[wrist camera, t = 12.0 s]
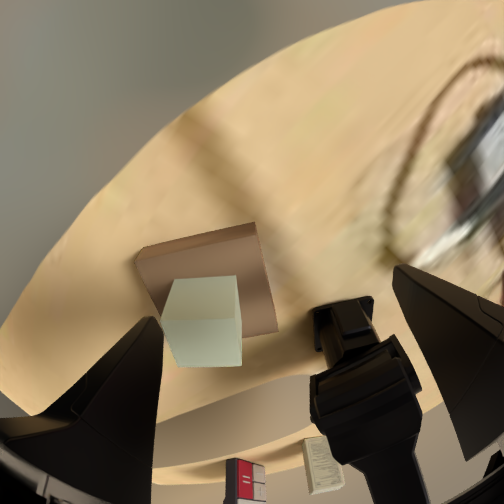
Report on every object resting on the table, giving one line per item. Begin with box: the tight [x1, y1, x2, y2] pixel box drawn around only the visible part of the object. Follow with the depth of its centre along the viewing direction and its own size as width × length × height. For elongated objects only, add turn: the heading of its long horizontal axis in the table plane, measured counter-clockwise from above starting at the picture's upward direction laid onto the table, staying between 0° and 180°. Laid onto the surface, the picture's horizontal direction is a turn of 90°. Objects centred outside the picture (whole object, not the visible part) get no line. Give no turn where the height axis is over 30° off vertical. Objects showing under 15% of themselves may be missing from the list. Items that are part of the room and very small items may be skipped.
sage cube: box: [160, 275, 242, 367], centre depth 20 cm, size 5×5×5 cm
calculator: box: [223, 458, 267, 504], centre depth 43 cm, size 11×4×15 cm, turn 38°
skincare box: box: [302, 436, 345, 495], centre depth 38 cm, size 6×4×12 cm
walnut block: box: [134, 222, 278, 338], centre depth 24 cm, size 10×10×3 cm
